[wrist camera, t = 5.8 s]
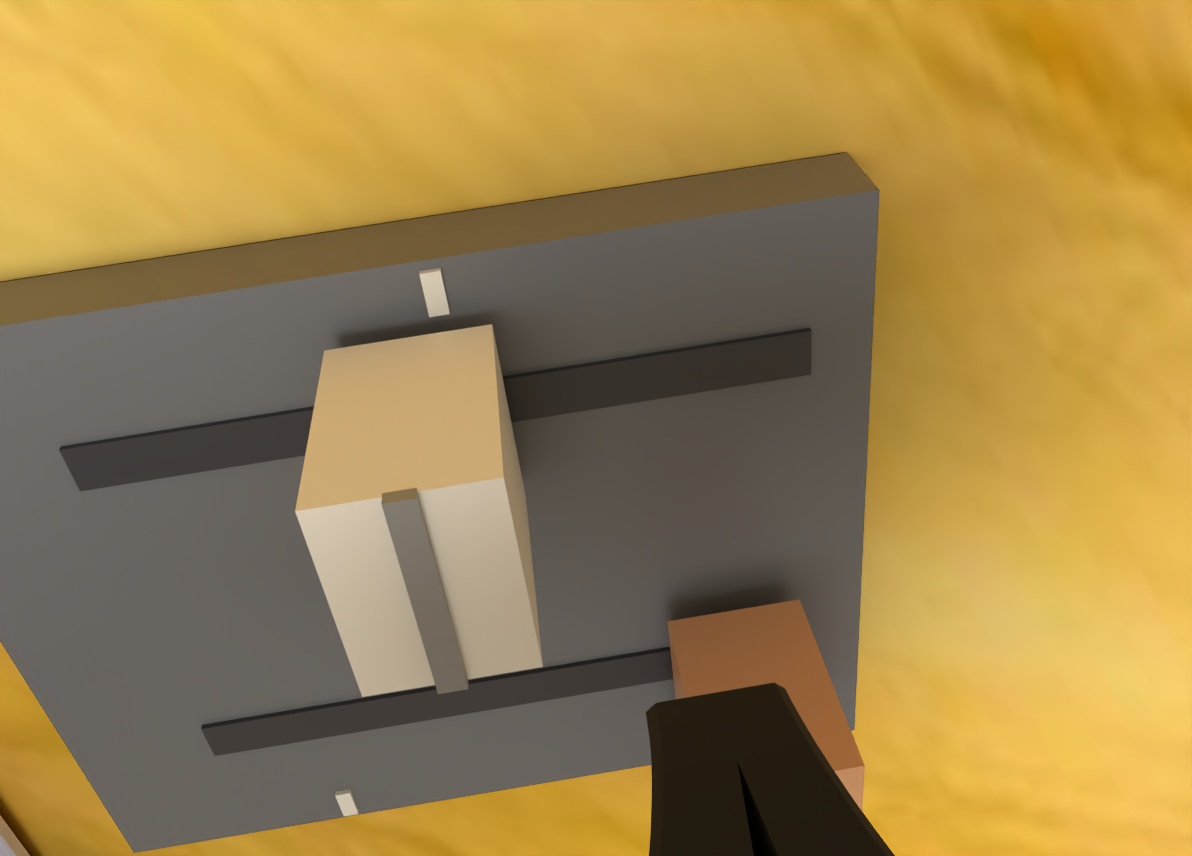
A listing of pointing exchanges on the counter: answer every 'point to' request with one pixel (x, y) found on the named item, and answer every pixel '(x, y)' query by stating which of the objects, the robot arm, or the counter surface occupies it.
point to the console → (547, 462)
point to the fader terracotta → (768, 672)
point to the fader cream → (420, 513)
